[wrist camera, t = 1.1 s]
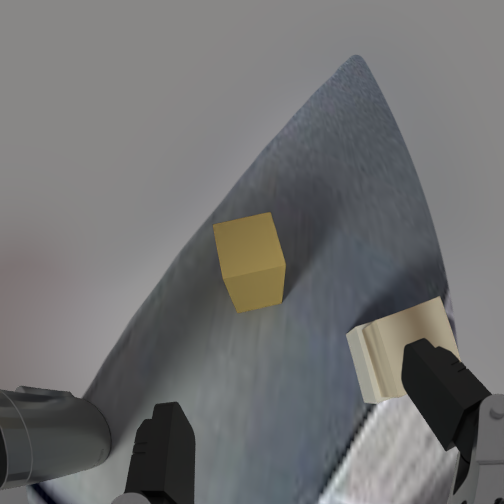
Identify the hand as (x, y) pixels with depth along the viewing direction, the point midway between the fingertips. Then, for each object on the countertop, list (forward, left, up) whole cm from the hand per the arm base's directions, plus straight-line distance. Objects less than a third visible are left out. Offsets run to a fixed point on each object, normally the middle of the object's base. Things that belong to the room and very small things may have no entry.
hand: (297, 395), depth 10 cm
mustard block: (-9, +8, -23) cm, 26 cm away
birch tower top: (+8, +10, -18) cm, 22 cm away
